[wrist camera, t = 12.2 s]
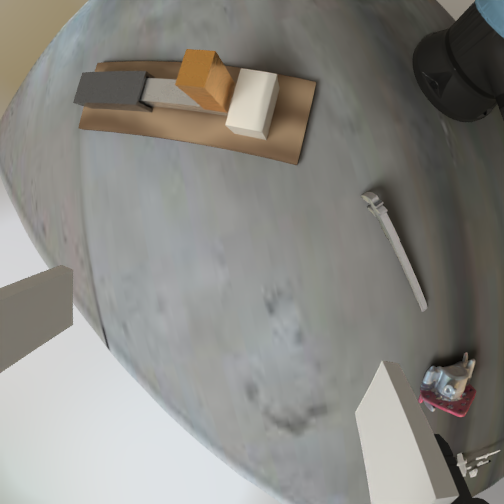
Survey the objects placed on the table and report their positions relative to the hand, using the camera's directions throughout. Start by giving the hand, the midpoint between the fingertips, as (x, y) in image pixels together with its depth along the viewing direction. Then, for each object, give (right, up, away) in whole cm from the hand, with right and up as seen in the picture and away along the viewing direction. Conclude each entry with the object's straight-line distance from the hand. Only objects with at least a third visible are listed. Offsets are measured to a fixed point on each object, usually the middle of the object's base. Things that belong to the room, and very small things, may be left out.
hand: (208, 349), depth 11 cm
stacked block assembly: (-8, +25, +26) cm, 37 cm away
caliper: (+23, +3, +29) cm, 37 cm away
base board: (-8, +26, +29) cm, 39 cm away
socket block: (+2, +22, +26) cm, 35 cm away
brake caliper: (+35, -18, +32) cm, 51 cm away
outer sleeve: (-18, +28, +28) cm, 44 cm away
